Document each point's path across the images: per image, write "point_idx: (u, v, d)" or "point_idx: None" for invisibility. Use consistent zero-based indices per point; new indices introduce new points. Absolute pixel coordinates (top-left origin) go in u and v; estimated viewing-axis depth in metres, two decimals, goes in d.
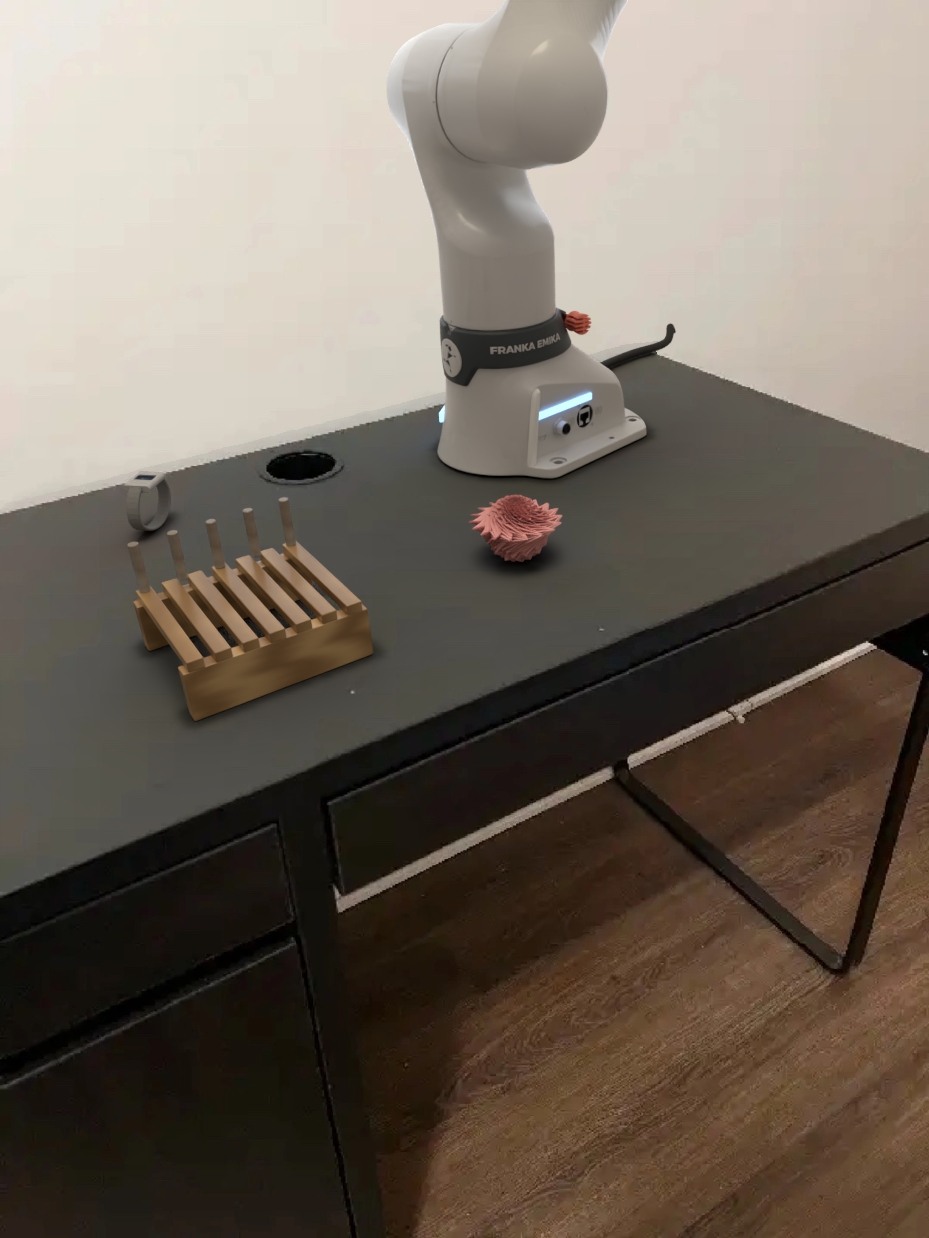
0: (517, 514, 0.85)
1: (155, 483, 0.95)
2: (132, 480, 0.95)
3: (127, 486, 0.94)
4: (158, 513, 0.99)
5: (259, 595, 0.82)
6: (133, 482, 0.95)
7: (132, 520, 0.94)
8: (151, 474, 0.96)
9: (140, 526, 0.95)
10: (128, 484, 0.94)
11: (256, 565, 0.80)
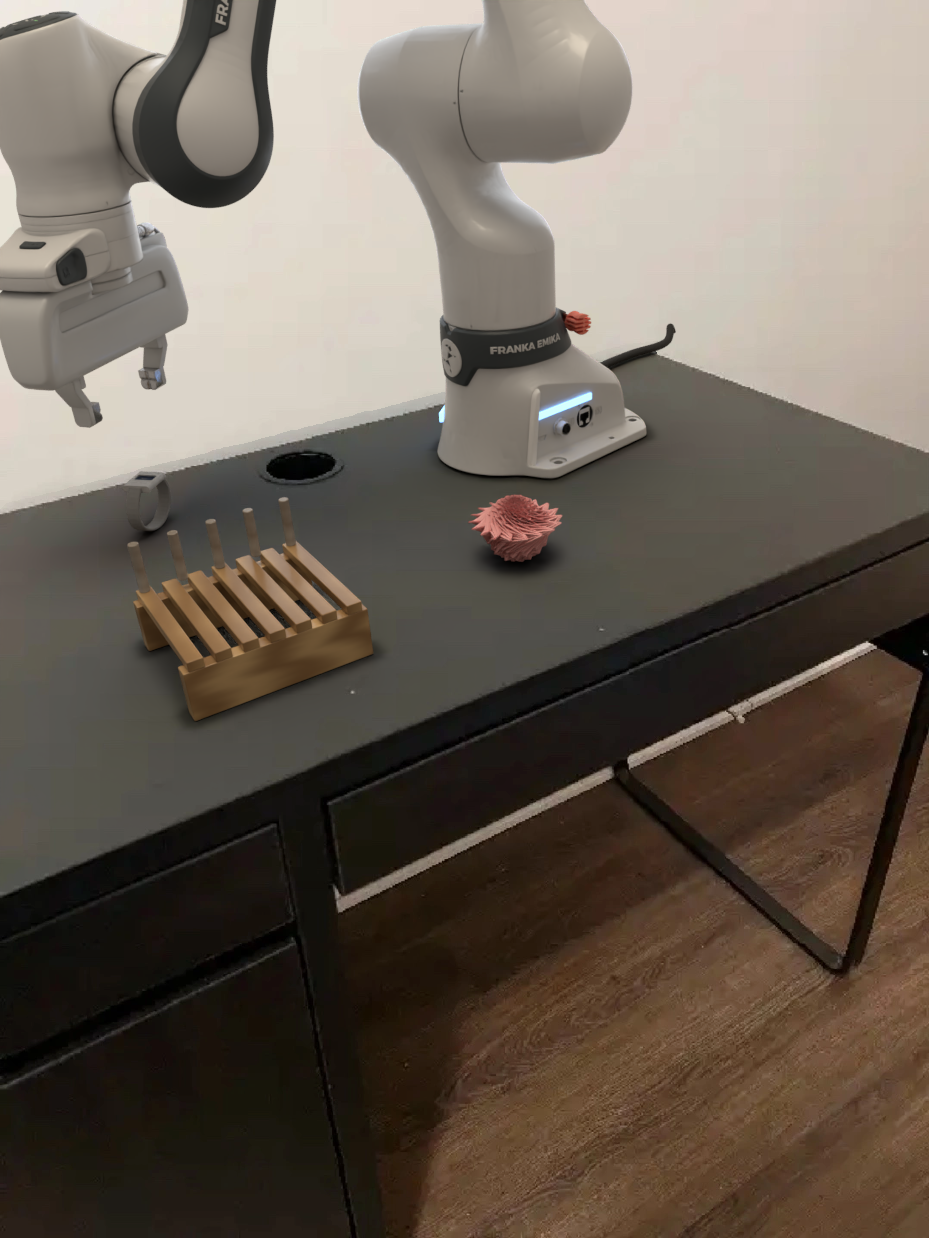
0: (517, 514, 0.85)
1: (155, 483, 0.95)
2: (132, 480, 0.95)
3: (127, 486, 0.94)
4: (158, 513, 0.99)
5: (259, 595, 0.82)
6: (133, 482, 0.95)
7: (132, 521, 0.94)
8: (151, 474, 0.96)
9: (140, 526, 0.95)
10: (128, 484, 0.94)
11: (256, 565, 0.80)
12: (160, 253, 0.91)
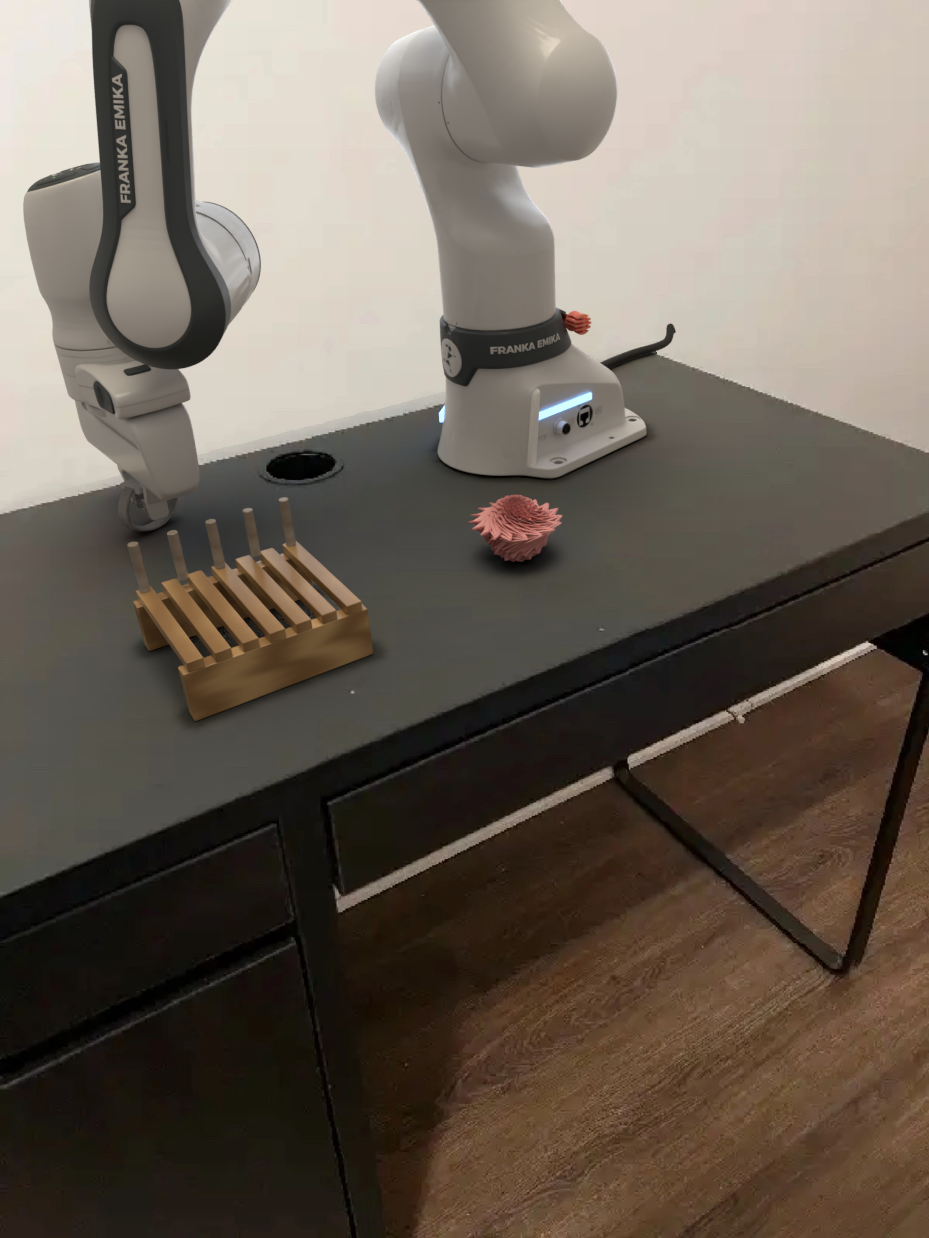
0: (517, 514, 0.85)
1: None
2: (132, 479, 0.95)
3: (123, 484, 0.95)
4: None
5: (259, 595, 0.82)
6: (132, 481, 0.95)
7: (122, 519, 0.95)
8: None
9: (129, 526, 0.95)
10: (125, 483, 0.95)
11: (256, 565, 0.80)
12: None
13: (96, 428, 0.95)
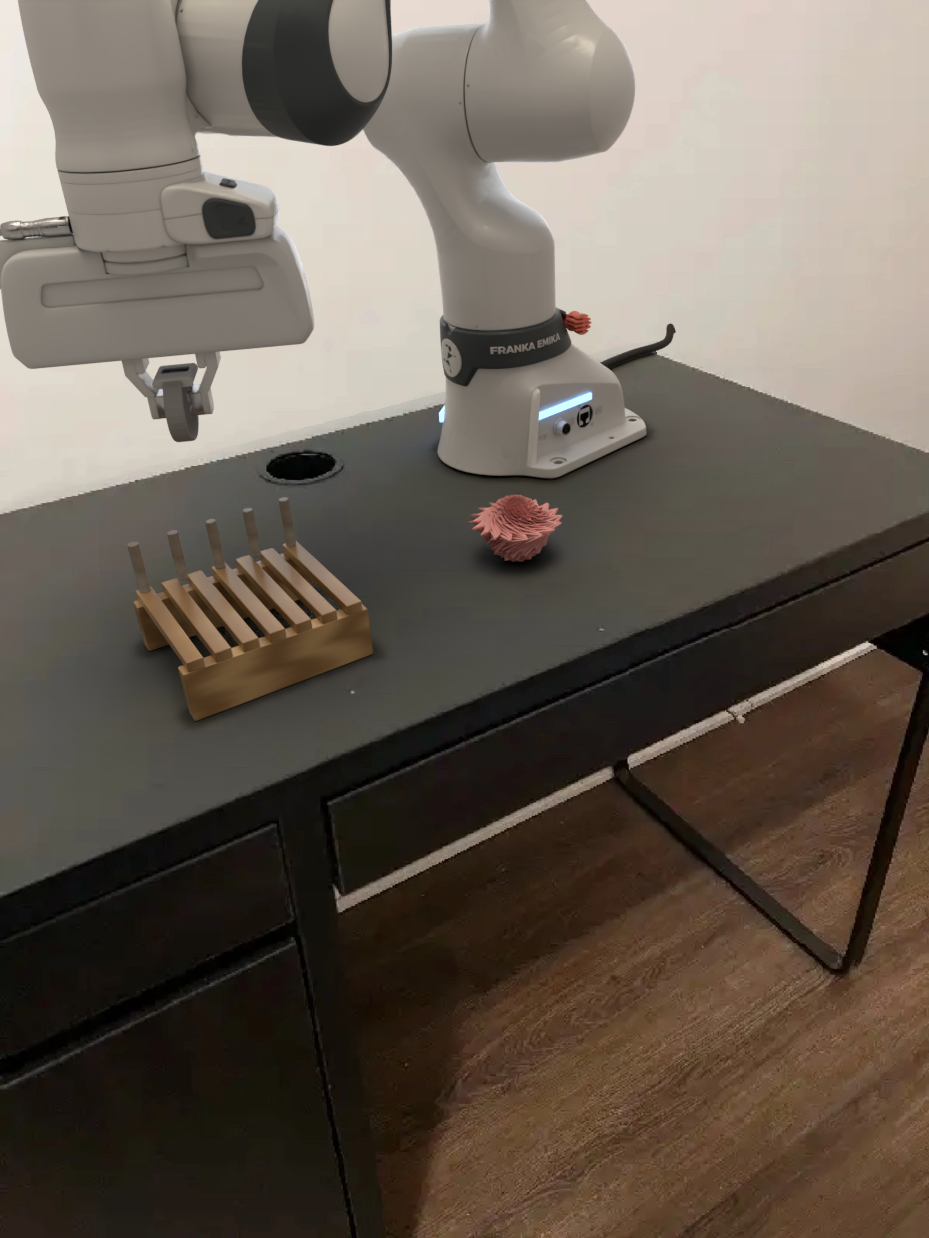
0: (517, 514, 0.85)
1: (194, 374, 0.72)
2: (161, 374, 0.71)
3: (160, 380, 0.70)
4: None
5: (259, 595, 0.82)
6: (163, 376, 0.71)
7: (175, 425, 0.71)
8: (180, 366, 0.73)
9: (185, 432, 0.71)
10: (160, 378, 0.71)
11: (256, 565, 0.80)
12: None
13: (91, 322, 0.68)
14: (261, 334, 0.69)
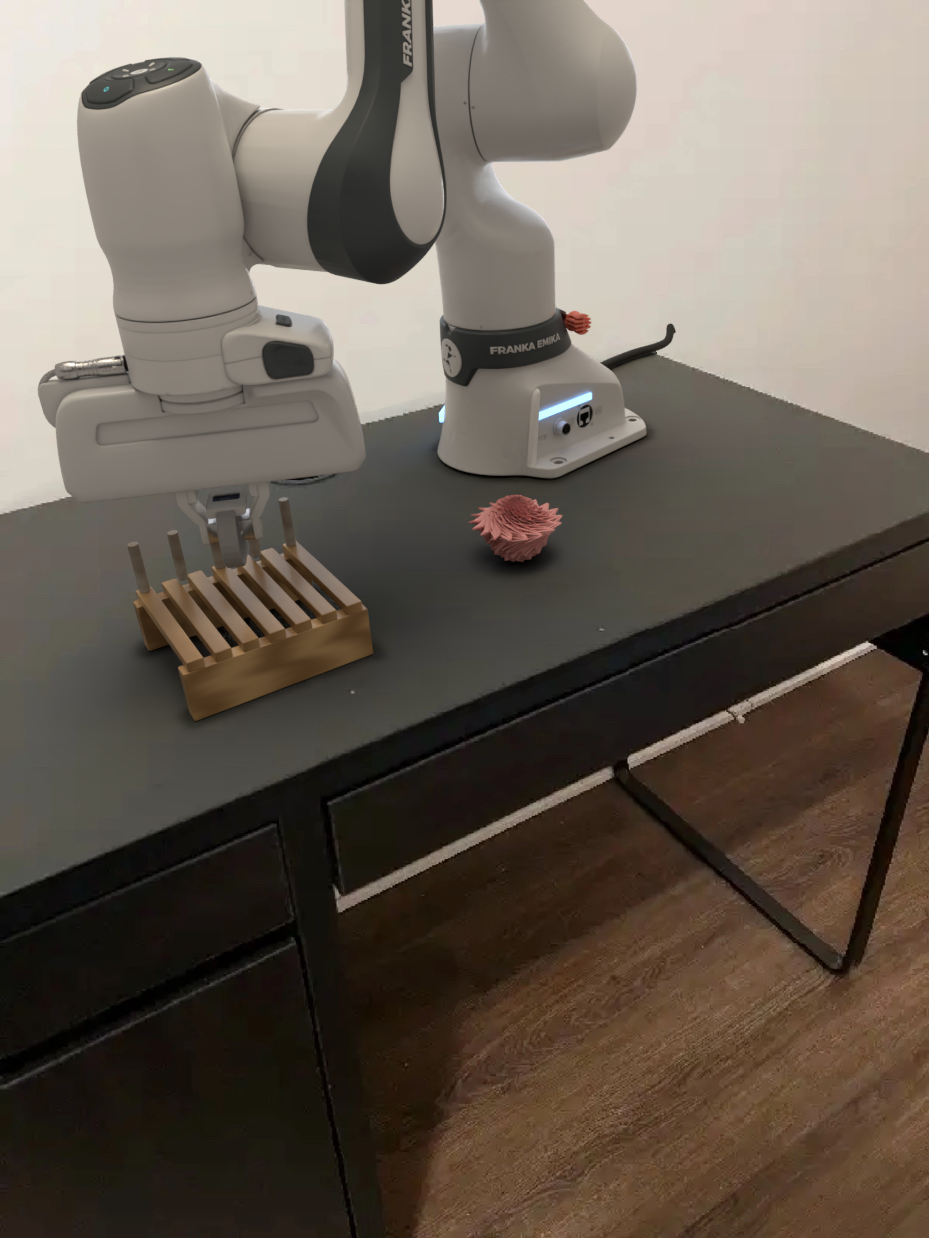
0: (517, 514, 0.85)
1: (246, 501, 0.72)
2: (213, 503, 0.71)
3: (213, 510, 0.70)
4: None
5: (259, 595, 0.82)
6: (215, 505, 0.71)
7: (229, 555, 0.71)
8: (230, 492, 0.73)
9: (238, 561, 0.71)
10: (213, 508, 0.70)
11: (256, 565, 0.80)
12: None
13: (146, 457, 0.68)
14: (315, 464, 0.70)
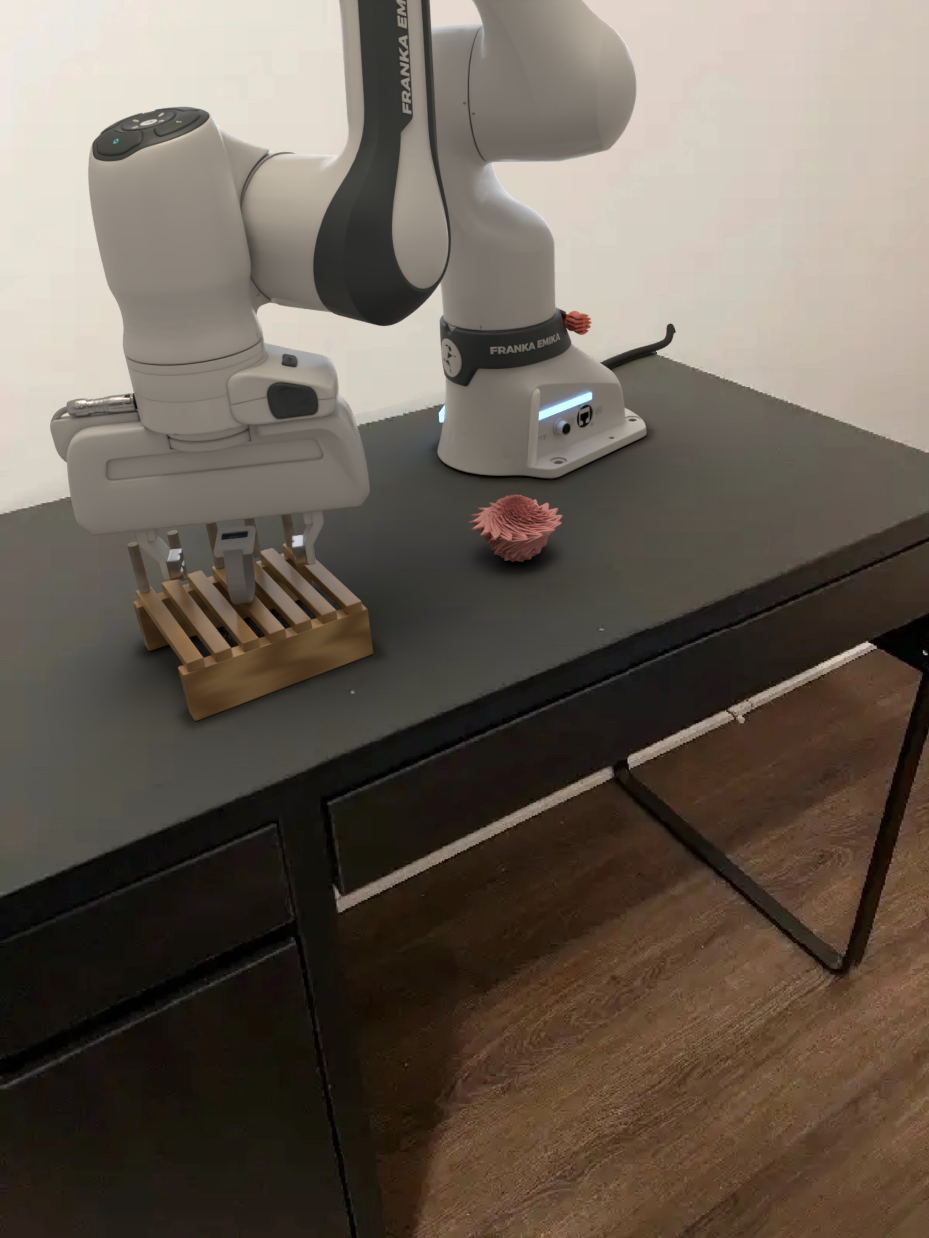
0: (517, 514, 0.85)
1: (253, 540, 0.73)
2: (222, 541, 0.73)
3: (222, 549, 0.72)
4: None
5: (259, 595, 0.82)
6: (224, 543, 0.73)
7: (236, 592, 0.72)
8: (239, 530, 0.74)
9: (245, 598, 0.73)
10: (221, 547, 0.72)
11: (256, 565, 0.80)
12: None
13: (154, 492, 0.69)
14: (319, 499, 0.71)
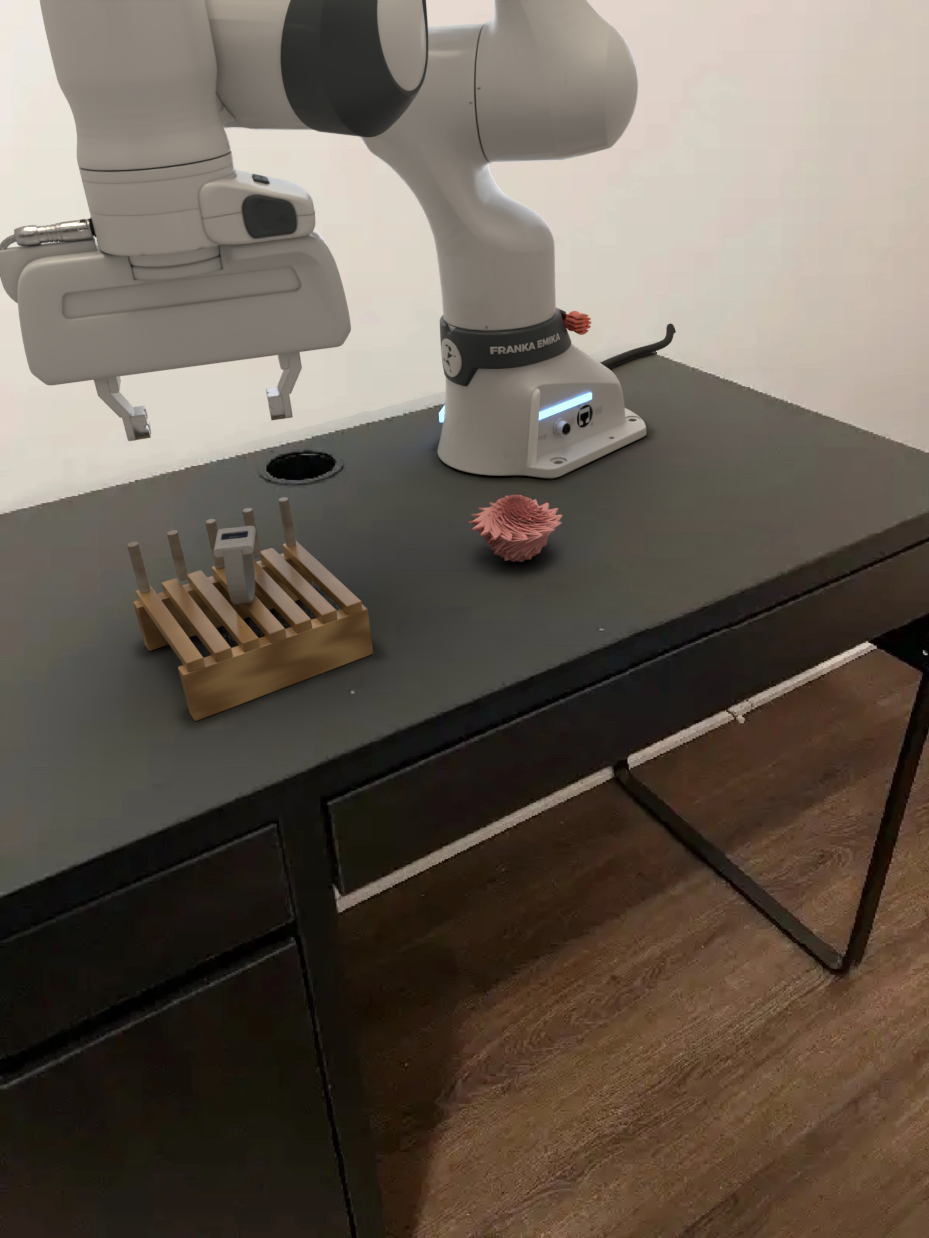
0: (517, 514, 0.85)
1: (253, 540, 0.73)
2: (222, 541, 0.73)
3: (222, 549, 0.72)
4: None
5: (259, 595, 0.82)
6: (224, 543, 0.73)
7: (236, 592, 0.72)
8: (239, 530, 0.74)
9: (245, 598, 0.73)
10: (221, 547, 0.72)
11: (256, 565, 0.80)
12: None
13: (117, 332, 0.63)
14: (298, 338, 0.66)
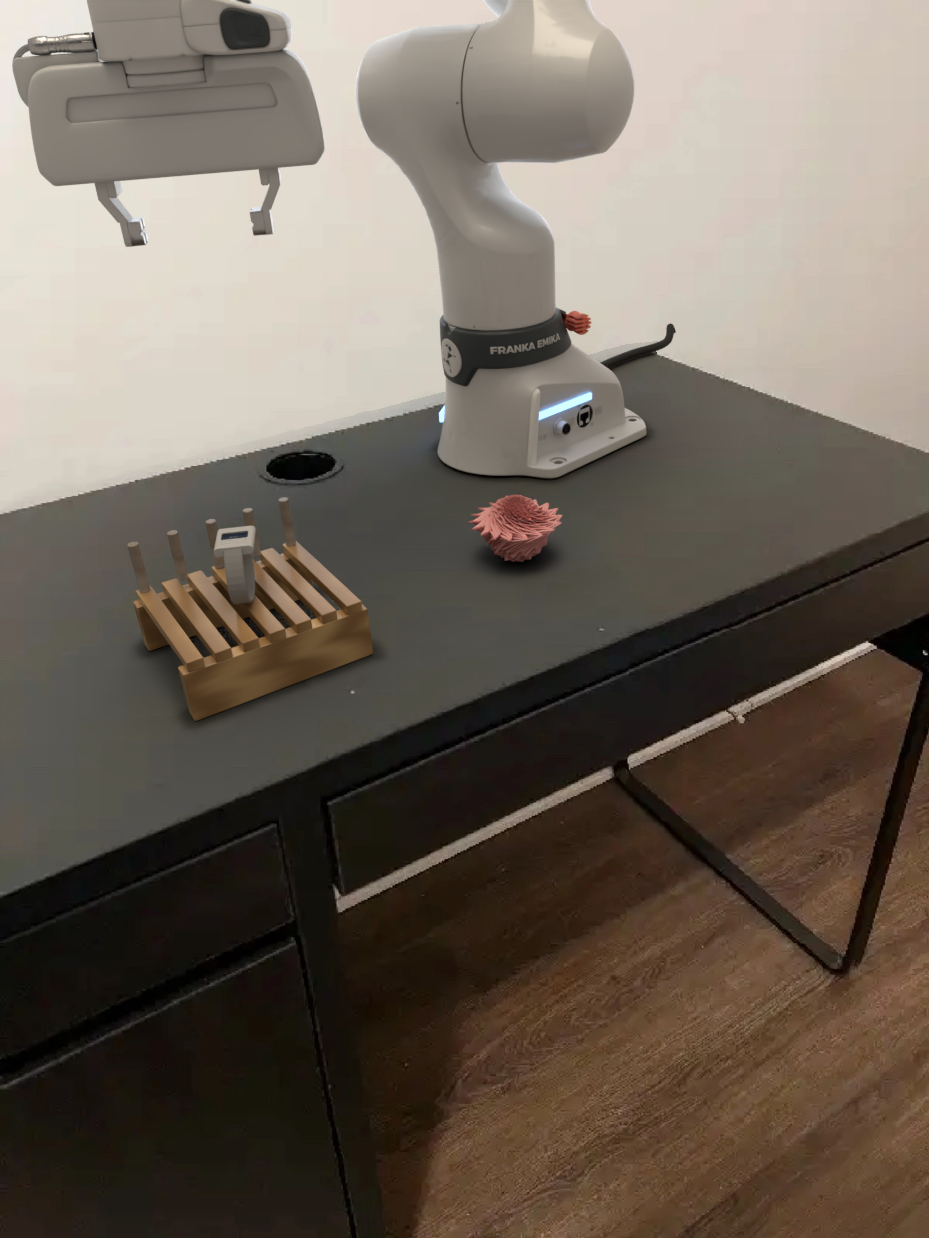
0: (517, 514, 0.85)
1: (253, 540, 0.73)
2: (222, 541, 0.73)
3: (222, 549, 0.72)
4: None
5: (259, 595, 0.82)
6: (224, 543, 0.73)
7: (236, 592, 0.72)
8: (239, 530, 0.74)
9: (245, 598, 0.73)
10: (221, 547, 0.72)
11: (256, 565, 0.80)
12: None
13: (113, 137, 0.71)
14: (275, 153, 0.73)
